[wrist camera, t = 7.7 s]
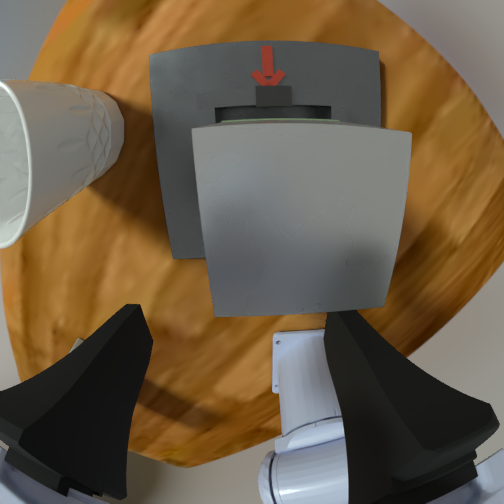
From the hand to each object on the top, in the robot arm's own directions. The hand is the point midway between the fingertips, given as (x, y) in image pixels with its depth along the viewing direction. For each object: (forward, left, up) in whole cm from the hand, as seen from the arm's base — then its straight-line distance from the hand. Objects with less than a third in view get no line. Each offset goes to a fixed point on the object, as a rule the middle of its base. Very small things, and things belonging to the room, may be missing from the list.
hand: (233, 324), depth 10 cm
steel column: (+5, -2, -4) cm, 7 cm away
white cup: (+8, +11, -10) cm, 17 cm away
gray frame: (+5, -2, -10) cm, 11 cm away
